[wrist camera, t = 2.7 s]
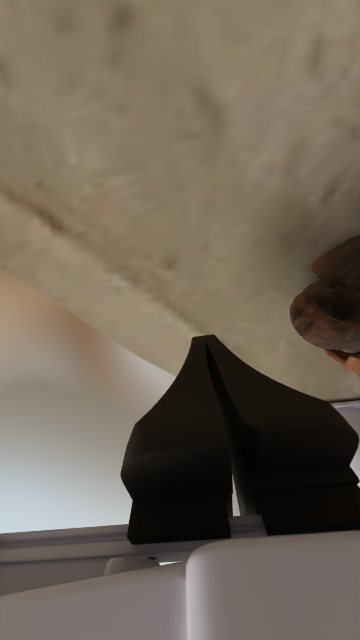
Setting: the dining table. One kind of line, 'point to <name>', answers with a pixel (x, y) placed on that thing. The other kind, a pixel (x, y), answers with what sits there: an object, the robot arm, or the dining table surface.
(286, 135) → the dining table surface
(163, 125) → the dining table surface
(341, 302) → the pottery shards
